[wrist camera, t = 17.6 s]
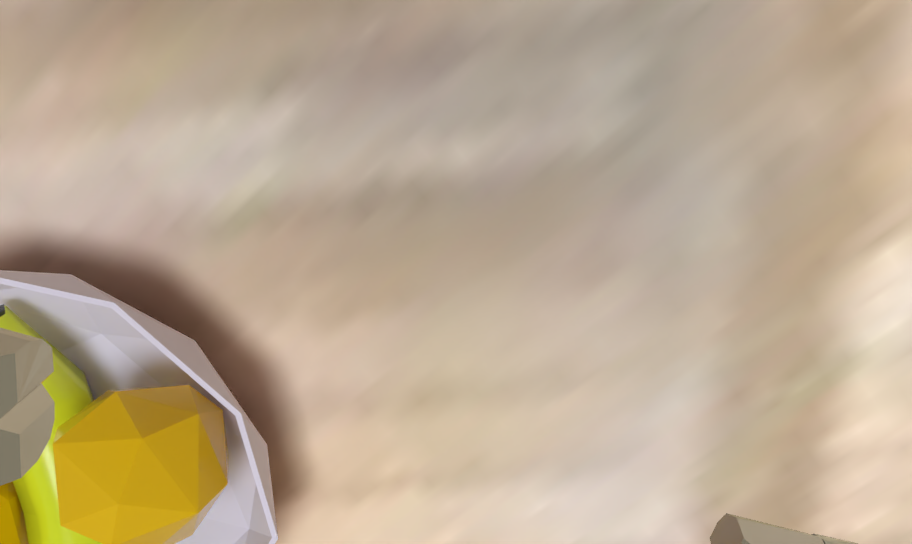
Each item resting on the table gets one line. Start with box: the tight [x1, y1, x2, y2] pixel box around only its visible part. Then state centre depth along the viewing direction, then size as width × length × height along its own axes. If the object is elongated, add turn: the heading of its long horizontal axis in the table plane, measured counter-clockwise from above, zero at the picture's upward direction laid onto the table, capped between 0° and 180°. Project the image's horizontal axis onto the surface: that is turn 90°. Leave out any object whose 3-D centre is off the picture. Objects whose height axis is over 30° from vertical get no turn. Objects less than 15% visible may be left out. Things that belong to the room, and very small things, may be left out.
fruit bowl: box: [0, 270, 278, 544], centre depth 42 cm, size 28×27×11 cm
